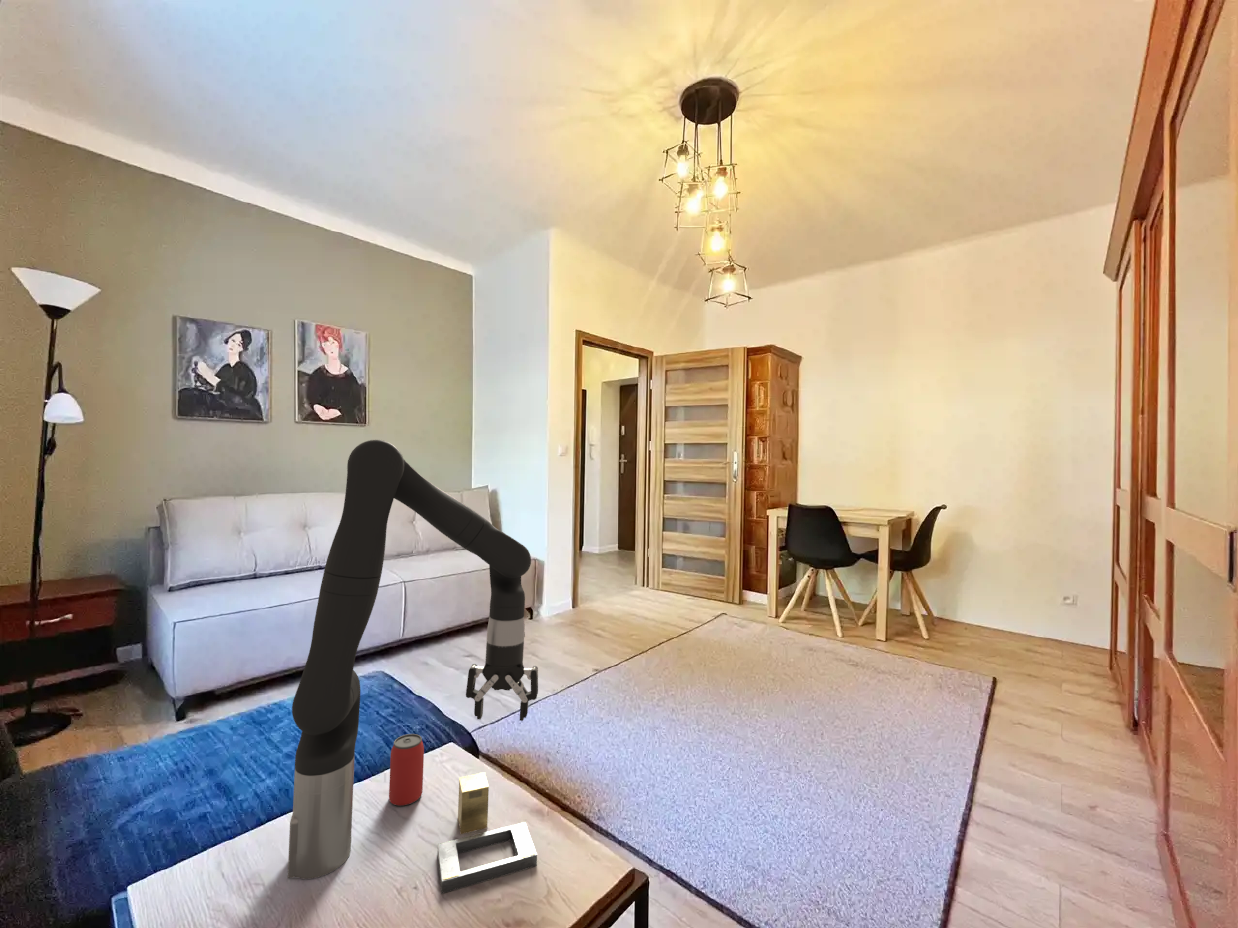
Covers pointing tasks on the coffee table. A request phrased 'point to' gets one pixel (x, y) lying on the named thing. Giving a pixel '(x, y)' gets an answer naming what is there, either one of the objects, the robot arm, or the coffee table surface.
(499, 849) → the coffee table surface
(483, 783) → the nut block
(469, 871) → the grey rectangular frame
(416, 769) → the beer can
